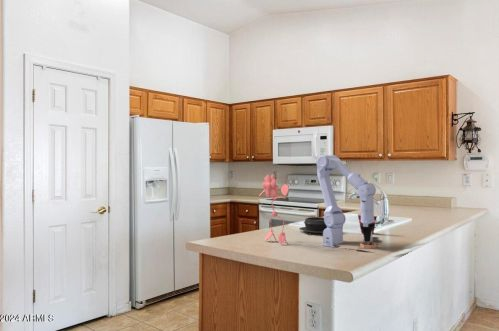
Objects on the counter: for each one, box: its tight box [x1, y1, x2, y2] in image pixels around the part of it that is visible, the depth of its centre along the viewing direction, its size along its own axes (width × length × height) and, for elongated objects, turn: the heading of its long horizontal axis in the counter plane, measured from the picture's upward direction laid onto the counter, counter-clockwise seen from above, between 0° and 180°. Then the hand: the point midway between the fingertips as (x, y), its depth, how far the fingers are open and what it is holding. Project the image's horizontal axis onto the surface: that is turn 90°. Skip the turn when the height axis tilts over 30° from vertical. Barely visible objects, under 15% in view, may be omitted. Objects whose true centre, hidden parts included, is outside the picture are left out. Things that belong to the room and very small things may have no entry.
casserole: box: [299, 216, 327, 235], centre depth 222 cm, size 25×19×8 cm
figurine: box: [258, 174, 290, 245], centre depth 193 cm, size 15×26×35 cm, turn 32°
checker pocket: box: [372, 236, 380, 243], centre depth 186 cm, size 7×7×2 cm
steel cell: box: [363, 232, 373, 245], centre depth 172 cm, size 4×4×8 cm
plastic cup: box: [357, 213, 379, 235], centre depth 209 cm, size 11×11×12 cm
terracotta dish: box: [359, 242, 376, 250], centre depth 172 cm, size 7×7×2 cm
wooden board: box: [357, 239, 382, 254], centre depth 179 cm, size 23×8×2 cm, turn 156°
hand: (367, 240), depth 172 cm, fingers open, 4 cm apart
